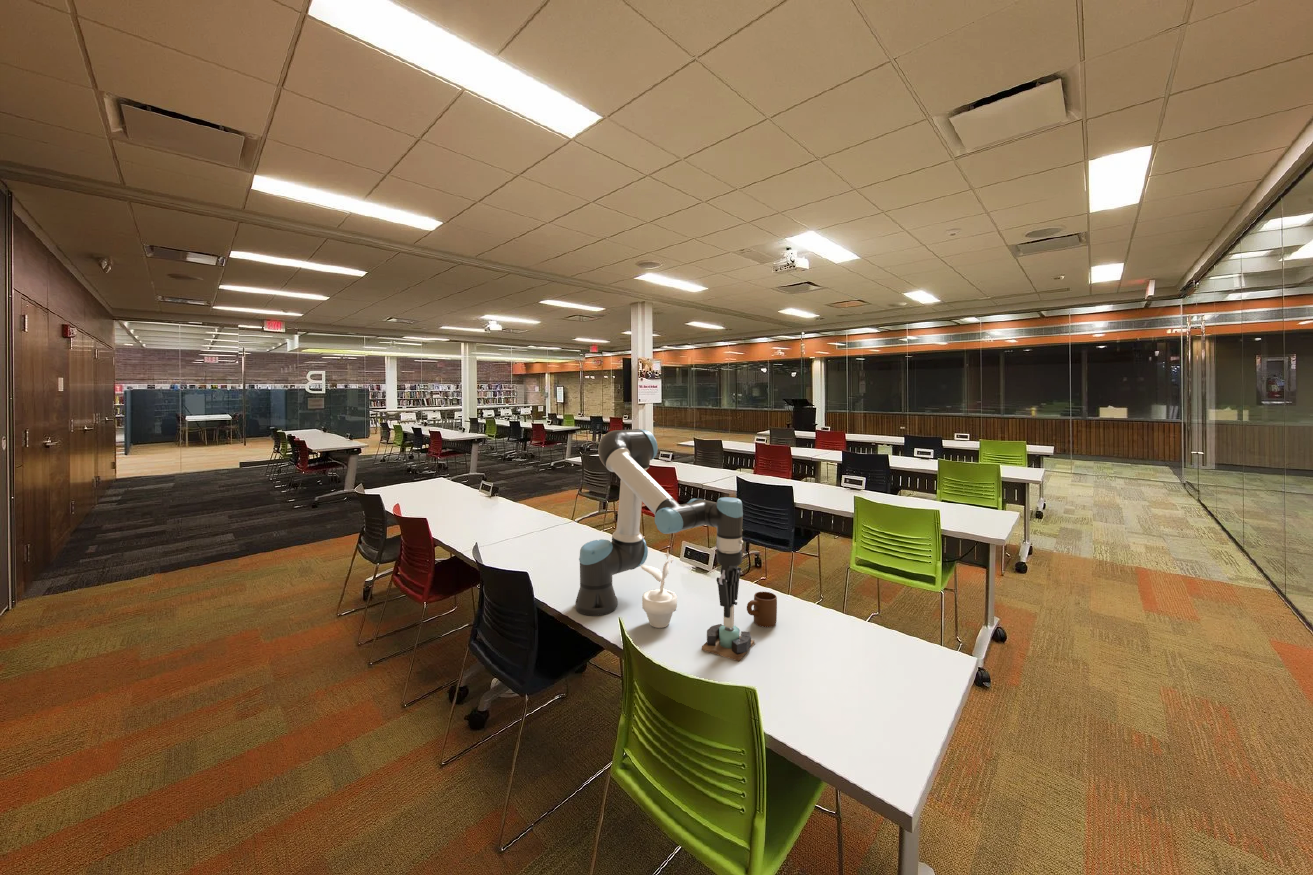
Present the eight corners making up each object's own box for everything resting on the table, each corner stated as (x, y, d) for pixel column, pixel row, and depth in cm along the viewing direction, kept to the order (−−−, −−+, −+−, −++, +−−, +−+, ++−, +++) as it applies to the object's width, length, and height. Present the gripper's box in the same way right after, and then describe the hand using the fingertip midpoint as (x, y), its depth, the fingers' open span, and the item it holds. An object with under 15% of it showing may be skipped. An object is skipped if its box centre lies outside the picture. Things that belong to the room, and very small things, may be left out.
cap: (715, 644, 142) (715, 629, 142) (724, 636, 147) (724, 622, 147) (734, 650, 139) (734, 635, 139) (742, 641, 144) (742, 626, 144)
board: (701, 649, 142) (701, 646, 142) (718, 633, 152) (718, 630, 152) (739, 661, 135) (739, 657, 135) (754, 643, 145) (754, 640, 145)
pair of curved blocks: (702, 644, 143) (702, 634, 143) (715, 631, 151) (715, 622, 151) (742, 656, 136) (742, 646, 136) (754, 642, 144) (754, 632, 144)
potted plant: (682, 620, 161) (682, 548, 159) (668, 635, 150) (668, 558, 149) (648, 613, 166) (648, 543, 164) (633, 627, 156) (633, 553, 154)
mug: (755, 633, 151) (755, 605, 151) (739, 624, 158) (739, 597, 157) (781, 624, 158) (781, 597, 157) (764, 615, 164) (765, 589, 164)
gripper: (732, 557, 134) (731, 638, 135) (749, 546, 145) (748, 620, 146) (708, 553, 138) (707, 631, 140) (726, 542, 149) (726, 615, 150)
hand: (728, 625), depth 143 cm, fingers closed
